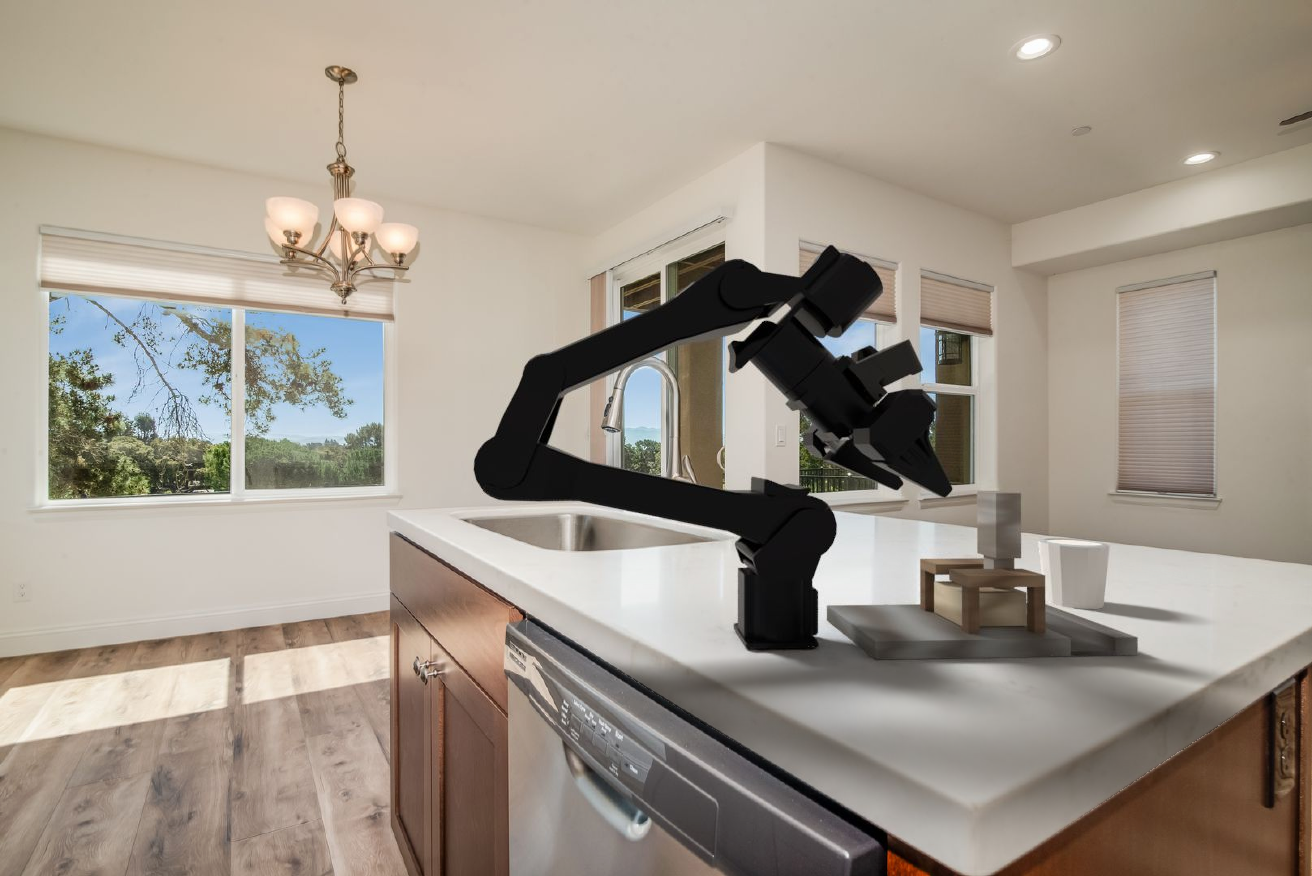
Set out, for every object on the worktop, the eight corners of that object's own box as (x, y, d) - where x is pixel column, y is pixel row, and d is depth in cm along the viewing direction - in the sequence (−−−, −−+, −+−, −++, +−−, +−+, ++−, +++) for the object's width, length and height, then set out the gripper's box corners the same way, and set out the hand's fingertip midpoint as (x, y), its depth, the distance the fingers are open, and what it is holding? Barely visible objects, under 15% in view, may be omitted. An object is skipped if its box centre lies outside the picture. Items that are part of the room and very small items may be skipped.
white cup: (1027, 600, 73) (1027, 540, 73) (1054, 593, 77) (1053, 536, 77) (1095, 613, 67) (1094, 548, 67) (1120, 604, 71) (1119, 543, 71)
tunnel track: (875, 659, 52) (875, 581, 52) (826, 620, 64) (826, 556, 64) (1137, 655, 54) (1137, 578, 54) (1042, 617, 66) (1041, 555, 66)
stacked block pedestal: (962, 626, 56) (961, 493, 56) (934, 612, 61) (933, 490, 61) (1028, 625, 57) (1028, 493, 57) (995, 611, 62) (994, 490, 62)
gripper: (911, 286, 49) (1048, 425, 50) (830, 330, 68) (930, 432, 69) (814, 385, 49) (953, 526, 49) (759, 403, 67) (861, 505, 68)
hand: (922, 490), depth 59 cm, fingers open, 9 cm apart
